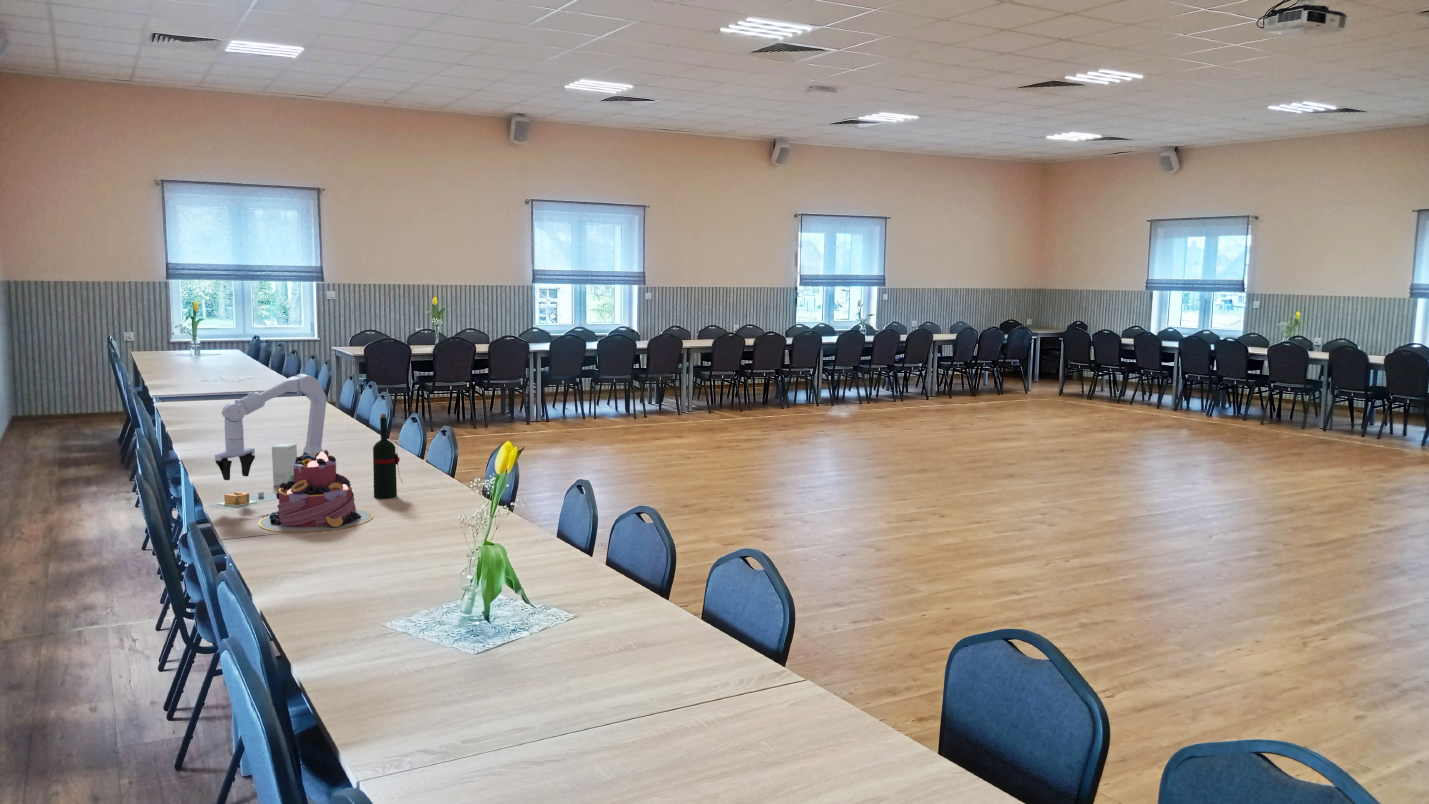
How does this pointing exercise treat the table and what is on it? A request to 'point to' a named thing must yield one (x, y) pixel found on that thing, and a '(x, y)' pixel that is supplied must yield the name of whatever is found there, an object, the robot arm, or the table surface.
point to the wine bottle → (385, 465)
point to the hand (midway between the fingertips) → (236, 478)
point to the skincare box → (283, 462)
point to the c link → (236, 498)
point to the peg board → (253, 500)
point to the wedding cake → (315, 499)
